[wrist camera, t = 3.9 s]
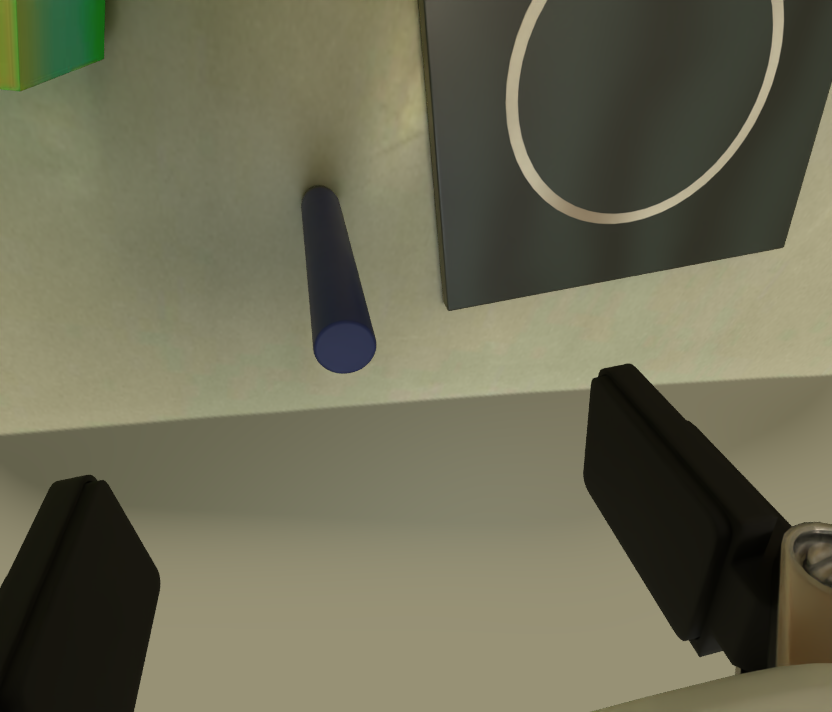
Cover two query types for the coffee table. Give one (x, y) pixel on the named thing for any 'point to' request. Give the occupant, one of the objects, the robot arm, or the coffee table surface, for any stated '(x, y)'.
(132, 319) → the coffee table surface
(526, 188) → the slate board
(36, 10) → the apple
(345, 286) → the marker
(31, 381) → the coffee table surface
